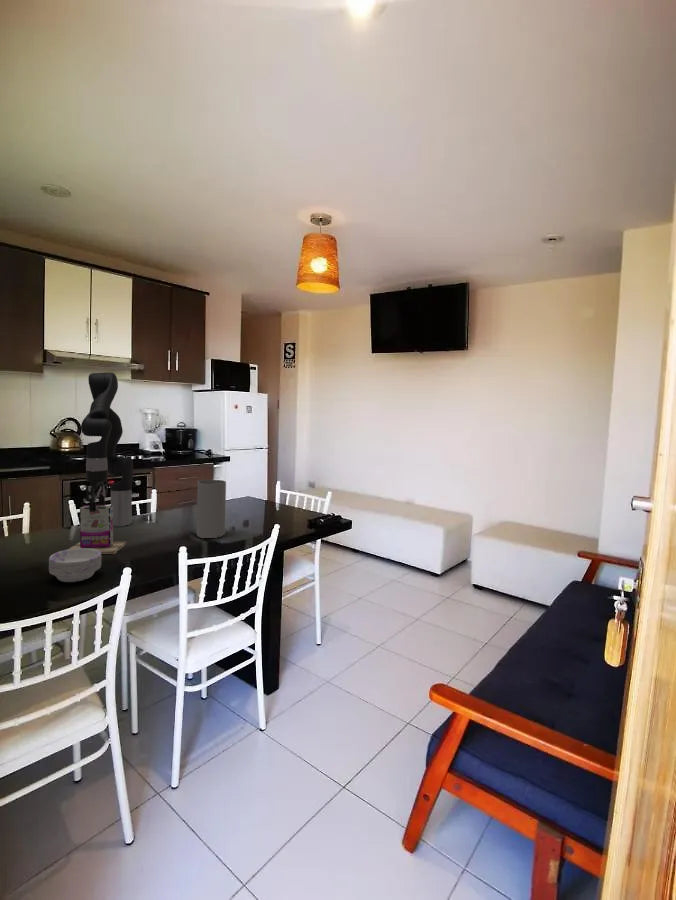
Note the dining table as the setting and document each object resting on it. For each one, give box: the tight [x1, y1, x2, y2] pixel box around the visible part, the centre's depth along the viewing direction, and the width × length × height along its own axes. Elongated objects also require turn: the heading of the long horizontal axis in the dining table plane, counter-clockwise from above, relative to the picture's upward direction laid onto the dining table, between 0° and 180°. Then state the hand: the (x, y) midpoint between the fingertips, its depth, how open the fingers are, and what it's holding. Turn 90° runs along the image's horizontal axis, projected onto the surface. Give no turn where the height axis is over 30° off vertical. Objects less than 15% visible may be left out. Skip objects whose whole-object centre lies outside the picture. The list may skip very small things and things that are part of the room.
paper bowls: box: [48, 548, 102, 583], centre depth 150 cm, size 15×15×8 cm
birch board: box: [67, 540, 128, 555], centre depth 180 cm, size 14×18×1 cm
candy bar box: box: [79, 504, 114, 548], centre depth 180 cm, size 11×5×16 cm, turn 104°
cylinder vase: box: [196, 479, 227, 539], centre depth 205 cm, size 12×12×25 cm
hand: (97, 509), depth 179 cm, fingers open, 8 cm apart
